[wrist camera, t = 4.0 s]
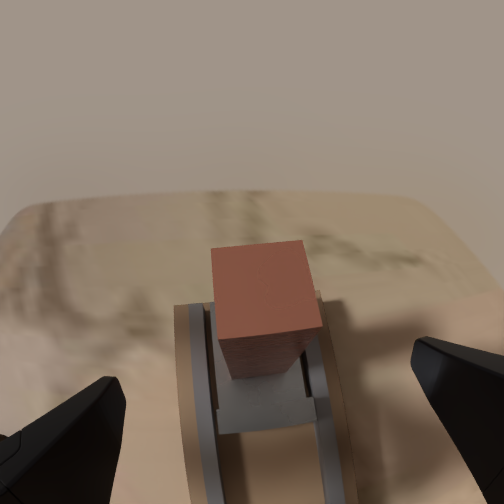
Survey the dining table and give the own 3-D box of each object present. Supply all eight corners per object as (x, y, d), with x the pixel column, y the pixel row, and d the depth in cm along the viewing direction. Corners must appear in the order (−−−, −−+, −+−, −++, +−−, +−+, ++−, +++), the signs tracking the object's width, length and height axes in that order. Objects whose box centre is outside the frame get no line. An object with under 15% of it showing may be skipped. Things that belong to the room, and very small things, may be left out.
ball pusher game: (354, 563, 9) (382, 592, 5) (216, 584, 8) (208, 621, 4) (313, 302, 20) (331, 266, 16) (180, 316, 19) (161, 283, 15)
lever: (306, 420, 14) (370, 418, 6) (223, 431, 13) (196, 446, 6) (285, 301, 17) (314, 200, 10) (211, 308, 17) (185, 210, 10)
